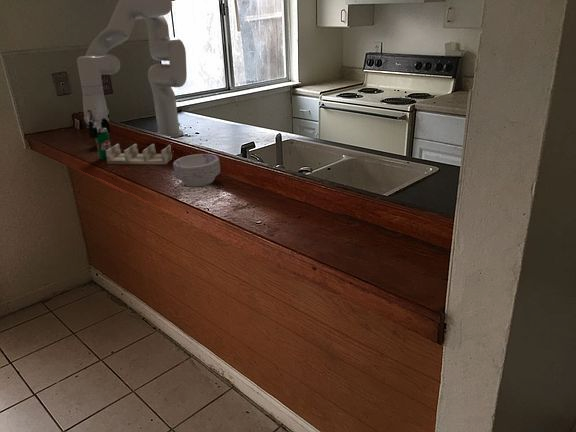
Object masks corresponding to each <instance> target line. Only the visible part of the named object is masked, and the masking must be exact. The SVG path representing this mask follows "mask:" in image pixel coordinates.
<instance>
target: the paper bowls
mask: <svg viewBox="0 0 576 432" xmlns="http://www.w3.org/2000/svg"><path fill="white" fill-rule="evenodd" d="M220 163H221V162H220V157H219V156H217V155H215V154H211V153H196V154H190V155H186V156H182V157H179V158H177V159H176V160H174V161H173V163H172V167H173V172H174V177H175V178H176V179H177V180H179V181H181V182H182V183H183V185H185V186H187V187H192V188H194V187H205V186H208V185H210V184H212V183H213V182H214V181H215V179H216V177H217V176H218V175H220V173H221V165H220Z"/></svg>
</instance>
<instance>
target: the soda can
mask: <svg viewBox="0 0 576 432" xmlns="http://www.w3.org/2000/svg"><path fill="white" fill-rule="evenodd" d="M97 132H98V138H95V142H96V147H97V153H98V156H99V157H98V158H99V159H100V160H102V161H105V160H106V161H107V156H106V150H108V149H109V148H111V147H112V146H111V140H110V134H109V132H108V130H107V129H106V128H105V127H101V128H97Z"/></svg>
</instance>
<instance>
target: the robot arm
mask: <svg viewBox="0 0 576 432" xmlns="http://www.w3.org/2000/svg"><path fill="white" fill-rule="evenodd" d="M172 8H173V2H172V0H118V2H117V4H116V5H115V9H114V11H113V13H112V15H111V18H110V20H109V23H108V25H107V27H106V28H105V29H103V30H101V32H100V33H99V34H98V35H97V36H96V37H95V38H94V39H93V40H92V42H91V43H89V46H88V48H87V50H86V53H85V54H84V55H82V56H78V57H77V58H76V63H77V68H78V74H79V80H80V86H81V87H80V88H81V92H82V107H83V109H82V110H83V116H84V117H83V120H84V122H85V125H86V127H87V130H88V135H89V138H90V139H96V138H98V132H97V127H96V122H98V121H100V120H101V121H102V122H101V127H105V128H106V129H107V130H108V133H111V128H110V127H111V126H110V119H109V118H110V110H109V108H108V107H107V101H106V98H105V94H104V85H103V80H102V75H114V74H116V73H118V72H119V71H120V68H121V61H120V59H119V58H118V57H117V56H116V55H115V54H112V53H111V54H110V53H108V52H109V51H110V50H112V49H113V48H114V47H117V46H118V45H121V44H122V43H124V42H126V41H127V40H128V39H129V38H130V36H131V34H132V31H133V28H134V26H135V24H136V21H137V20H144V21H145V23H146V25H147V29H148V32H147V33H148V43H149V44H148V45H149V53H150V56H151V58H152V59H153V60H155V61H161V62H169V64H168V63H155V64H152V65H151V66H150V67H149V69H148V70H147V78H148V82H149V85H150V88H151V91H152V96H153V104H154V110H155V118H156V125H157V132H156V133H159V134H163V135H167V136H171V137H175V138H178V137H181V136H183V135H184V131H183V130H181V129H180V126H181V123H180V122H179V116H178V108H177V101H176V94H175V92H174V90H173V88H182V87H183V86H184V85H185V84H186V82H187V73H188V71H187V52H186V47H185V45H184V43H183V41H182V39H179V38H178V37H170V31H169V30H170V29H169V24H168V21H167V20H166V18H165V16H166V15H168V14H169V13H170V12H171V11H172Z"/></svg>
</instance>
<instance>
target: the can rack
mask: <svg viewBox="0 0 576 432" xmlns="http://www.w3.org/2000/svg"><path fill="white" fill-rule="evenodd" d="M155 145H156V144H155V143H151V144H150V145H148V146H147V147H145V148H144V149H143V150H142V151H141V152H142V153H139V149H138V144H137V143H134V144H132V145H130V146H129V147H128V148H126V149H124V150H123V153H122V152H121V145H120V143H116V144H115V145H113V146H111V148H109V149H108V150H106V156H107V160H106V164H107V165H167V164H168V163H169V162H171V160H173V159H172V153H171V145H170V144H168V145H167V146H165V148H163V149H162V150H160V153H157V151H156V146H155Z"/></svg>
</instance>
